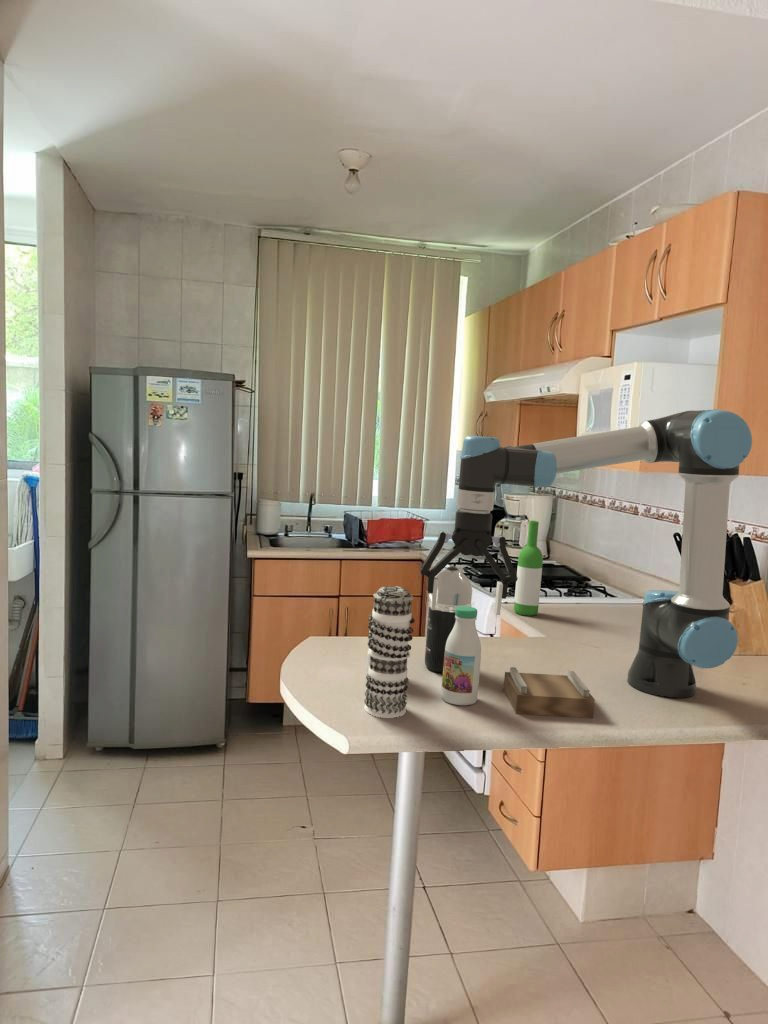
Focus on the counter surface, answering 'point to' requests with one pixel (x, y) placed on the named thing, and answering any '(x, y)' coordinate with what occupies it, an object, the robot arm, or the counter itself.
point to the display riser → (548, 694)
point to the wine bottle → (529, 575)
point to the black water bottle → (445, 614)
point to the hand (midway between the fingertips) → (464, 611)
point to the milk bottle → (462, 659)
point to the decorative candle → (389, 652)
